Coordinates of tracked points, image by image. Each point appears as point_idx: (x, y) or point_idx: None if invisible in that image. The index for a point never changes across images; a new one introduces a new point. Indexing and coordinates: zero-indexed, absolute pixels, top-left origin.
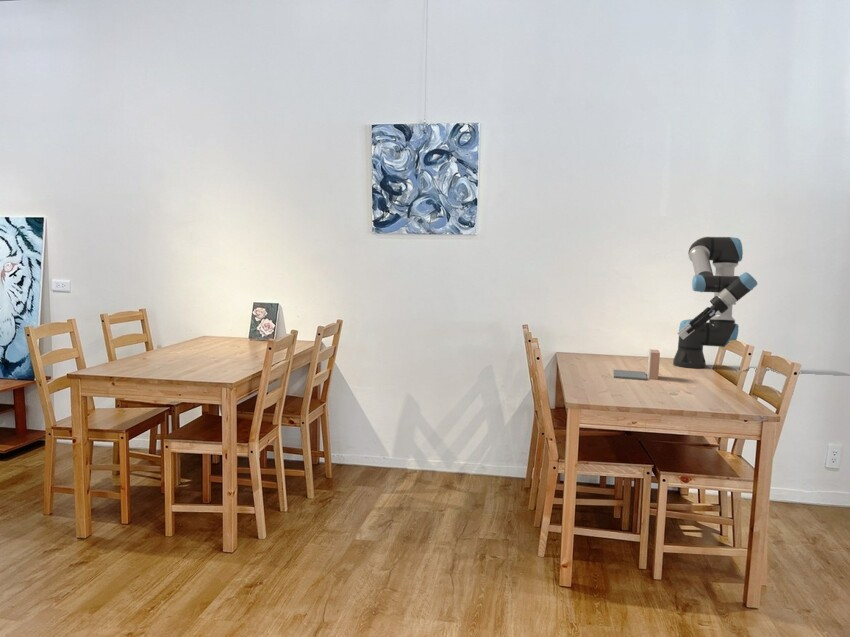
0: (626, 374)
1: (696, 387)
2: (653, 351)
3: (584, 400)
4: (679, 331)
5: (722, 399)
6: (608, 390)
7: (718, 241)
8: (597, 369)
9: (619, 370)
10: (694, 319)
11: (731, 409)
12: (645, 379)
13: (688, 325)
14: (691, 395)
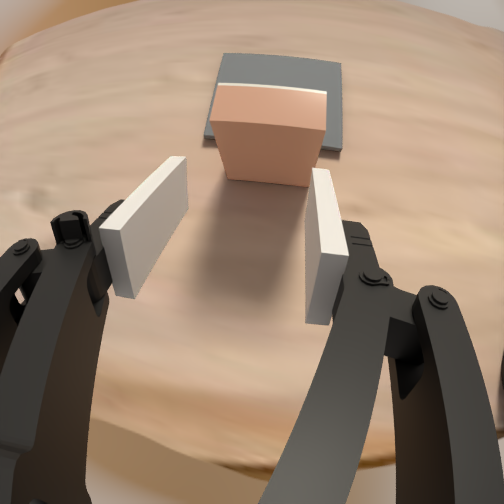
0: (262, 83)
1: (124, 299)
2: (257, 98)
3: (19, 51)
4: (316, 178)
5: None
6: (75, 62)
7: None
8: (355, 39)
9: (331, 75)
10: (353, 347)
11: None
12: (205, 133)
13: (317, 251)
14: None
